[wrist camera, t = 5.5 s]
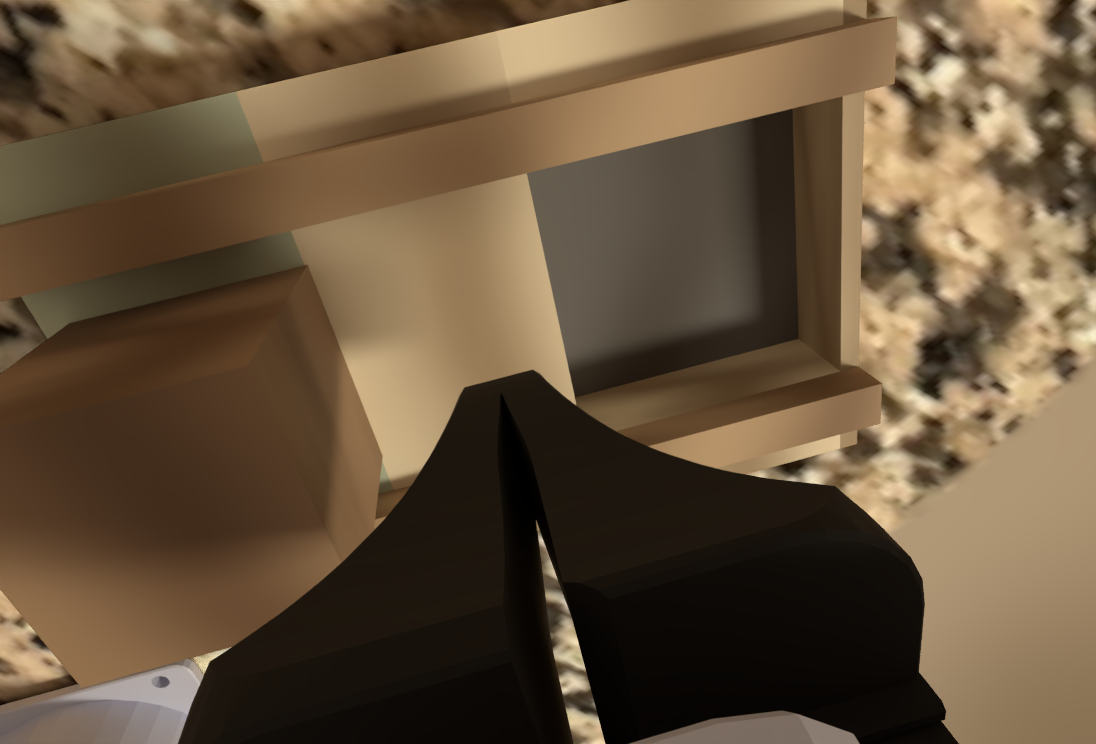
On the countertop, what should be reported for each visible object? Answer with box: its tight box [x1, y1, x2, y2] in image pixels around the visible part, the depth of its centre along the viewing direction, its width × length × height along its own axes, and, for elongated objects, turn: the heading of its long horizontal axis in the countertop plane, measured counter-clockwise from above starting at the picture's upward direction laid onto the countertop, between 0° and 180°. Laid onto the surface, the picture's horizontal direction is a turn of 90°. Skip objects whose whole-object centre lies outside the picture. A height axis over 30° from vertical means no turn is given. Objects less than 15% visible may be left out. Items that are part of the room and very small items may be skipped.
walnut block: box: [0, 265, 383, 688], centre depth 12 cm, size 5×5×5 cm
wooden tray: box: [0, 0, 897, 531], centre depth 16 cm, size 18×12×4 cm, turn 103°
